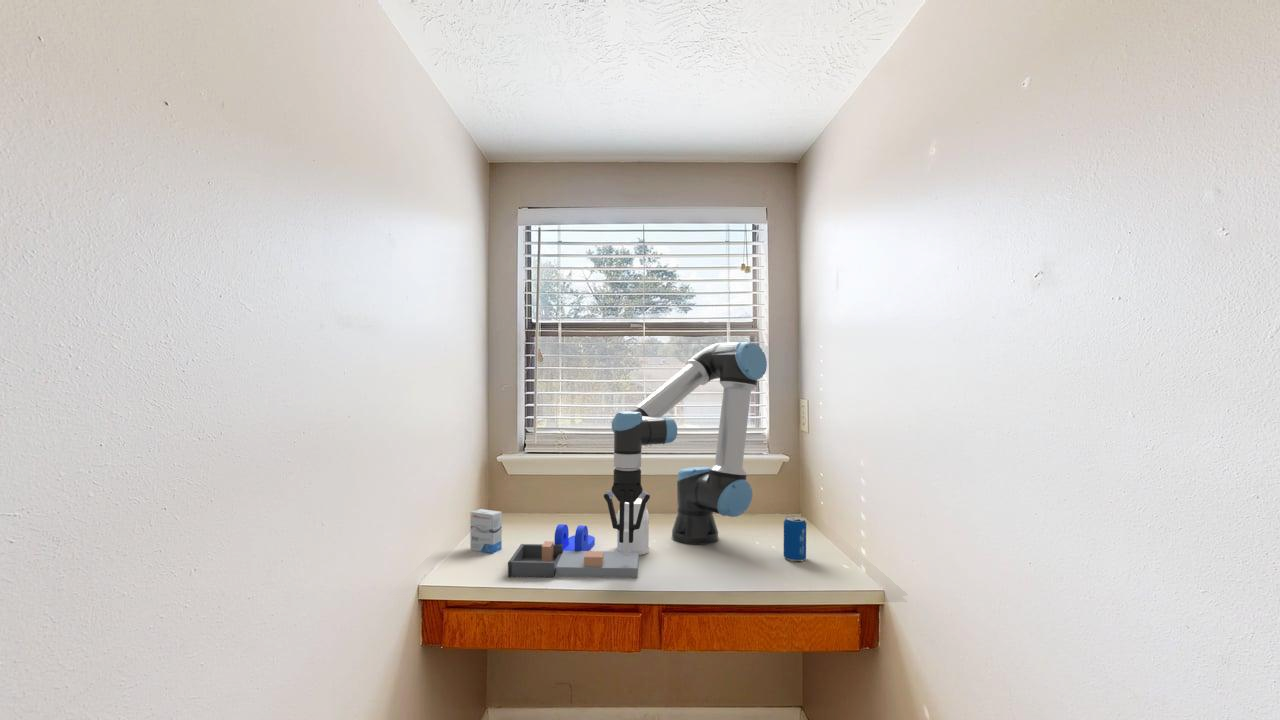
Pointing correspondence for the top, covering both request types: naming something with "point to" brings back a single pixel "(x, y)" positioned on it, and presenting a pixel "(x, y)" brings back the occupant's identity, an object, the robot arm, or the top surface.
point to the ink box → (486, 531)
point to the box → (533, 562)
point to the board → (612, 566)
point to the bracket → (574, 538)
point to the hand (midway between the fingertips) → (626, 554)
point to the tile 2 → (594, 558)
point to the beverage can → (794, 538)
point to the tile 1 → (548, 551)
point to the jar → (640, 534)
